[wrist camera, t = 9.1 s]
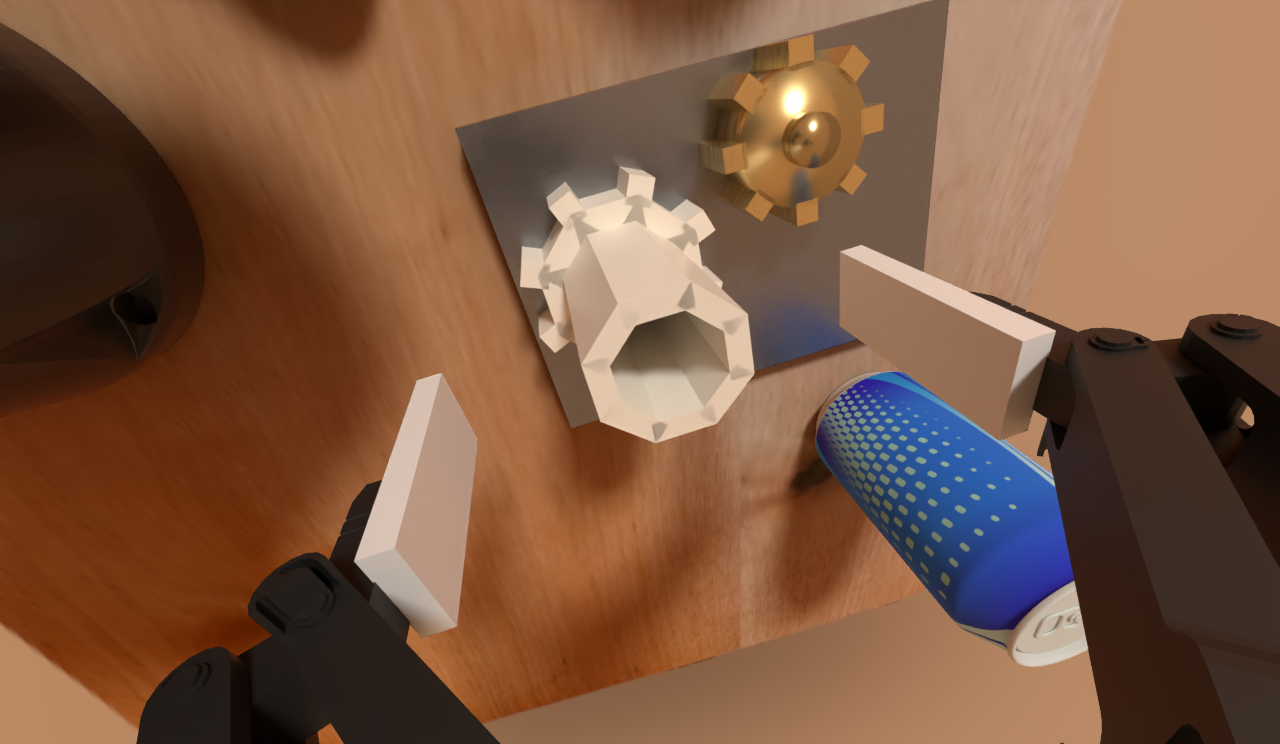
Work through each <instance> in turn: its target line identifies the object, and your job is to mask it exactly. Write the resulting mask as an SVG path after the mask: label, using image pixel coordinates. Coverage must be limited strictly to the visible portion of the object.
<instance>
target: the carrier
mask: <svg viewBox="0 0 1280 744" xmlns="http://www.w3.org/2000/svg"><path fill="white" fill-rule="evenodd" d="M948 6H949V0H931V1H927V2H923V3H920V4H916V5H912V6H908V7H905V8H901V9H897V10H893V11H890V12H886V13H882V14H879V15H875V16H871V17H867V18H864V19H860V20H856V21H852V22H849V23H845V24H841V25H838V26H834V27H830V28H826V29H823V30H819V31H815V32H811V33H808V34H804V35H800V36H797V37H793V38H789V39H785V40H782V41H778V42H774V43H770V44H767V45H763V46H759V47H756V48H752V49H748V50H744V51H741V52H737V53H733V54H729V55H726V56H722V57H718V58H715V59H711V60H707V61H703V62H700V63H696V64H692V65H688V66H685V67H681V68H677V69H674V70H670V71H666V72H662V73H659V74H655V75H651V76H647V77H644V78H640V79H636V80H633V81H629V82H625V83H621V84H618V85H614V86H610V87H606V88H603V89H599V90H595V91H592V92H588V93H584V94H580V95H577V96H573V97H569V98H565V99H562V100H558V101H554V102H551V103H547V104H543V105H539V106H536V107H532V108H528V109H524V110H521V111H517V112H513V113H510V114H506V115H502V116H498V117H495V118H491V119H487V120H483V121H480V122H476V123H472V124H469V125H465V126H461V127H458V128H456V132H457V135H458V137H459V140H460V142H461V145H462V148H463V150H464V153H465V155H466V158H467V160H468V163H469V166H470V168H471V171H472V173H473V176H474V179H475V181H476V184H477V186H478V189H479V191H480V194H481V197H482V199H483V202H484V204H485V207H486V210H487V212H488V215H489V217H490V220H491V222H492V225H493V228H494V230H495V233H496V235H497V238H498V241H499V243H500V246H501V248H502V251H503V253H504V256H505V259H506V261H507V264H508V266H509V269H510V272H511V274H512V277H513V279H514V282H515V285H516V287H517V290H518V292H519V295H520V297H521V300H522V303H523V305H524V308H525V310H526V313H527V316H528V318H529V321H530V323H531V326H532V328H533V331H534V334H535V336H536V339H537V341H538V344H539V347H540V349H541V352H542V354H543V357H544V359H545V362H546V365H547V367H548V370H549V372H550V375H551V378H552V380H553V383H554V385H555V388H556V390H557V393H558V396H559V398H560V401H561V403H562V406H563V409H564V411H565V414H566V416H567V419H568V421H569V424H570V427H571V428H574V427H578V426H581V425H584V424H587V423H590V422H594V421H597V420H600V419H599V416H598V413H597V410H596V407H595V404H594V401H593V398H592V395H591V393H590V390H589V387H588V384H587V381H586V378H585V375H584V372H583V369H582V366H581V363H580V358H579V354H578V349H577V344H576V343H573V342H571V341H570V342H569V343H567V344H566V345H565V346H564V347H562V348H561V349H560V350H558V351H557V352H556V353H555V352H554V351H553V350H552V349H551V348H550V347H549V346H548V345H547V344H546V343H545V342H544V341H543V340H542V339H541V338H540V337H539V322H538V316H539V315H540V314H541V313H543V312H544V311H545V310H546V309H548V308H549V306H548V303H547V301H546V298H545V295H544V292H543V289H538V288H527V287H520V277H521V253H522V247H531V248H540V249H542V248H543V246H544V244H545V242H546V240H547V239H548V237H549V235H550V233H551V231H552V229H553V227H554V225H555V223H556V221H557V218H556V217H555V215H554V214H553V213H552V212H551V210H550V209H549V207H548V203H547V198H546V197H547V196H549V195H550V194H551V193H552V192H554V191H555V190H556V189H557V188H558V187H560V186H561V185H562V184H563V183H564V182H566V183H567V184H568V186H569V187H570V188H571V190H572V191H573V192H574V194H575V195H576V196H577V198H578V199H581V198H584V197H588V196H592V195H595V194H599V193H602V192H606V191H609V190H613V189H616V187H617V179H618V172H619V167H625V168H631V169H638V170H643V171H645V172H646V173H648V174H650V175H651V176H653V177H655V184H654V190H653V196H652V200H653V201H655V202H656V203H658V204H659V205H661V206H663V207H664V208H666V209H667V210H669V211H670V212H671V211H672V210H674V209H675V208H676V207H677V206H679V205H680V204H681V203H683V202H684V201H685V200H686V199H687V200H688V201H690V202H692V203H693V204H695V205H697V206H698V207H700V208H701V209H703V210H704V212H705V213H706V215H707V217H708V218H709V220H710V222H711V223H712V225H713V227H714V228H715V231H714V232H712V233H711V234H710V235H708V236H707V237H706V238H704V239H703V240H702V241H701V242H699V243H698V244H699V250H700V256H701V262H702V266H706V267H707V268H708V269H709V270H710V271H711V272H713V273H714V274H715V275H716V276H717V277H718V278H719V279H720V280H721V281H722V282H723V284H722V288H721V289H722V290H723V291H724V292H725V293H726V294H727V295H728V296H730V297H731V298H732V299H733V300H734V301H735V302H736V303H737V304H738V305H739V306H740V307H741V308H742V309H743V310H744V311H745V312H746V313H747V314H748V321H749V330H750V338H751V347H752V356H753V364H754V371H757V370H760V369H763V368H767V367H770V366H773V365H776V364H779V363H783V362H786V361H789V360H792V359H795V358H799V357H802V356H805V355H808V354H811V353H815V352H818V351H821V350H824V349H827V348H831V347H834V346H837V345H840V344H843V343H847V342H850V341H853V340H856V339H857V338H856V337H854V336H853V335H852V334H850V333H849V332H847V331H846V330H845V329H843V328H842V327H841V326H839V322H840V251H844V250H847V249H850V248H853V247H857V246H860V245H863V246H865V247H867V248H870V249H872V250H874V251H876V252H879V253H881V254H883V255H886V256H888V257H890V258H892V259H895V260H897V261H899V262H901V263H904V264H906V265H908V266H910V267H913V268H915V269H917V270H920V271H922V272H923V270H924V259H925V248H926V238H927V227H928V217H929V206H930V196H931V185H932V175H933V164H934V154H935V143H936V133H937V122H938V111H939V101H940V90H941V80H942V69H943V59H944V48H945V38H946V27H947V17H948Z"/></svg>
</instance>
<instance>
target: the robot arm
mask: <svg viewBox="0 0 1280 744" xmlns="http://www.w3.org/2000/svg"><path fill="white" fill-rule="evenodd" d="M203 282H204V260H203V252H202V245H201V241H200V237H199V233H198V230H197V226H196V223H195V220H194V218H193V215H192V213H191V210H190V208H189V205H188V203H187V201H186V199H185V197H184V195H183V193H182V191H181V189H180V188H179V186H178V184H177V182H176V181H175V179H174V177H173V175H172V174H171V172H170V171H169V169H168V168H167V166H166V165H165V163H164V162H163V160H162V159H161V158H160V156H159V155H158V154H157V152H156V151H155V150H154V148H153V147H152V146H151V145H150V143H149V142H148V141H147V140H146V139H145V137H144V136H143V135H142V134H141V133H140V131H139V130H138V129H137V128H136V127H135V126H134V125H133V124H132V123H131V122H130V120H129V119H128V118H127V117H126V116H125V115H124V114H123V113H122V112H121V111H120V110H119V109H118V108H117V107H116V106H115V105H114V104H113V103H112V102H111V101H109V100H108V99H107V98H106V97H105V96H104V95H103V94H102V93H101V92H99V91H98V90H97V89H96V88H95V87H94V86H93V85H91V84H90V83H89V82H88V81H86V80H85V79H84V78H83V77H81V76H80V75H79V74H78V73H77V72H75V71H74V70H73V69H71V68H70V67H69V66H67V65H66V64H64V63H63V62H62V61H60V60H59V59H58V58H56V57H55V56H53V55H52V54H50V53H49V52H47V51H46V50H44V49H43V48H41V47H40V46H38V45H37V44H35V43H34V42H32V41H31V40H29V39H27V38H26V37H24V36H22V35H21V34H19V33H17V32H16V31H14V30H12V29H10V28H9V27H7V26H5V25H3V24H1V23H0V417H2V416H6V415H10V414H13V413H17V412H21V411H25V410H29V409H33V408H37V407H40V406H44V405H48V404H52V403H56V402H60V401H63V400H67V399H71V398H75V397H79V396H82V395H85V394H88V393H91V392H94V391H97V390H99V389H102V388H104V387H106V386H109V385H111V384H113V383H115V382H117V381H119V380H121V379H123V378H125V377H127V376H128V375H130V374H131V373H133V372H135V371H136V370H138V369H139V368H140V367H142V366H143V365H145V364H146V363H148V362H149V361H151V360H152V359H154V358H155V357H156V356H158V355H159V354H161V353H162V352H163V351H165V350H166V349H167V348H169V347H170V346H171V345H172V344H173V343H174V342H175V341H176V340H177V339H178V338H179V337H180V336H181V335H182V334H183V332H184V331H185V330H186V328H187V327H188V325H189V324H190V322H191V320H192V319H193V317H194V315H195V313H196V310H197V308H198V305H199V302H200V298H201V294H202V289H203ZM839 326H841V327H842V328H843V329H845V330H846V331H847V332H849V333H850V334H852V335H853V336H854V337H856V338H857V339H859V340H860V341H861V342H863V343H864V344H865V345H867V346H868V347H870V348H871V349H872V350H874V351H875V352H877V353H878V354H879V355H881V356H882V357H883V358H885V359H886V360H888V361H889V362H890V363H892V364H893V365H895V366H896V367H897V368H899V369H900V370H901V371H903V372H904V373H906V374H907V375H908V376H910V377H911V378H913V379H914V380H915V381H917V382H918V383H919V384H921V385H922V386H924V387H925V388H926V389H928V390H929V391H931V392H932V393H933V394H935V395H936V396H937V397H939V398H940V399H942V400H943V401H944V402H946V403H947V404H949V405H950V406H951V407H953V408H954V409H955V410H957V411H958V412H960V413H961V414H962V415H964V416H965V417H967V418H968V419H969V420H971V421H972V422H973V423H975V424H976V425H978V426H979V427H980V428H982V429H983V430H985V431H986V432H987V433H989V434H990V435H991V436H993V437H994V438H996V439H997V440H998V441H999V440H1002V439H1005V438H1008V437H1011V436H1013V435H1016V434H1019V433H1022V432H1025V431H1027V430H1028V427H1029V424H1030V420H1031V417H1032V413H1033V410H1035V411H1036V412H1038V413H1040V414H1041V415H1043V416H1044V417H1046V418H1048V419H1047V423H1046V425H1045V428H1044V432H1043V435H1042V438H1041V441H1040V445H1039V448H1038V452H1037V456H1043V454H1044V451H1045V450H1046V449H1048V453H1049V458H1050V463H1051V468H1052V473H1053V478H1054V483H1055V488H1056V493H1057V498H1058V503H1059V508H1060V512H1061V517H1062V522H1063V527H1064V532H1065V537H1066V542H1067V547H1068V552H1069V557H1070V562H1071V567H1072V572H1073V577H1074V582H1075V587H1076V592H1077V597H1078V602H1079V607H1080V612H1081V616H1082V621H1083V626H1084V631H1085V636H1086V641H1087V646H1088V651H1089V656H1090V661H1091V666H1092V671H1093V676H1094V681H1095V685H1096V691H1097V696H1098V701H1099V705H1100V711H1101V718H1102V734H1101V742H1100V744H1280V327H1278V326H1276V325H1274V324H1272V323H1269V322H1267V321H1264V320H1260V319H1255V318H1253V317H1251V316H1246V315H1240V316H1239V315H1238V314H1210V315H1204V316H1198V317H1196V318H1194V319H1192V320H1190V322H1189V324H1188V326H1187V328H1186V331H1185V333H1184V335H1183V337H1182V338H1179V339H1171V340H1160V341H1151V340H1150V339H1148V338H1146V337H1144V336H1142V335H1140V334H1138V333H1134V332H1130V331H1126V330H1122V329H1113V328H1091V329H1087V330H1083V331H1079V332H1076V331H1074V330H1072V329H1069V328H1067V327H1065V326H1062V325H1060V324H1057V323H1055V322H1053V321H1051V320H1048V319H1046V318H1044V317H1041V316H1039V315H1036V314H1034V313H1032V312H1026V310H1025V309H1022V308H1020V307H1018V306H1015V305H1014V306H1012V305H1011V303H1008V302H1006V301H1004V300H1001V299H999V298H997V297H994V296H991V295H986V294H981V293H976V292H967V291H965V290H963V289H960V288H958V287H956V286H954V285H951V284H949V283H947V282H944V281H942V280H940V279H938V278H935V277H933V276H931V275H929V274H926V273H924V272H922V271H920V270H917V269H915V268H913V267H910V266H908V265H906V264H904V263H901V262H899V261H897V260H895V259H892V258H890V257H888V256H886V255H883V254H881V253H879V252H876V251H874V250H872V249H870V248H867V247H865V246H863V245H860V246H857V247H853V248H850V249H847V250H844V251H840V322H839ZM1247 406H1249V407H1250V408H1251V410H1252V412H1253V415H1254V425H1253V426H1252V427H1251V426H1250V425H1248V424H1247V423H1246V422H1245V421H1244V420H1242V419H1241V418H1240V417H1241V416H1242V414H1243V412H1244V411H1245V409H1246V407H1247ZM477 444H478V439H477V437H476V436H475V434H474V432H473V430H472V428H471V426H470V424H469V422H468V421H467V419H466V417H465V415H464V413H463V411H462V409H461V408H460V406H459V404H458V402H457V400H456V398H455V396H454V395H453V393H452V391H451V389H450V387H449V385H448V383H447V381H446V380H445V378H444V376H443V374H442V373H440V374H436V375H433V376H430V377H426V378H423V379H420V380H417V382H416V385H415V388H414V391H413V393H412V396H411V399H410V402H409V405H408V408H407V411H406V414H405V416H404V419H403V422H402V425H401V428H400V431H399V434H398V437H397V439H396V442H395V445H394V448H393V451H392V454H391V457H390V459H389V462H388V465H387V468H386V471H385V474H384V477H383V480H380V481H377V482H374V483H370V484H367V485H366V486H365V487H364V489H363V490H362V491H361V492H360V494H359V495H358V496H357V497H356V498H355V500H354V501H353V502H352V505H351V507H350V510H349V512H348V515H347V517H346V522H345V523H344V525H343V527H342V530H341V532H340V534H341V536H340V537H338V540H337V542H336V545H335V547H334V549H333V552H332V554H331V557H330V559H329V560H328V559H327V558H326V557H325V556H324V555H322V554H320V553H317V552H316V553H306V554H303V555H301V556H298V557H296V558H293V559H291V560H289V561H288V562H286V563H285V564H283V565H281V566H280V567H278V568H277V569H276V570H274V571H273V572H272V573H271V574H270V575H269V576H268V577H267V578H266V579H264V580H263V581H262V583H261V584H260V585H259V587H258V588H257V589H256V591H255V592H254V593H253V595H252V597H251V600H250V602H249V605H248V612H249V616H250V617H251V618H252V619H253V620H255V621H256V622H257V623H258V624H259V625H261V626H262V627H263V628H264V629H265V630H267V631H268V632H269V633H270V634H271V635H273V636H271V637H269V638H268V639H266V640H264V641H263V642H261V643H259V644H258V645H256V646H254V647H253V648H251V649H249V650H247V651H246V652H244V653H242V654H241V655H239V656H236V655H234V654H233V653H232V652H230V651H229V650H228V649H225V648H221V647H215V648H211V649H206V650H204V651H202V652H200V653H198V654H196V655H194V656H192V657H190V658H189V659H188V660H186V661H185V662H184V663H182V664H181V665H180V666H178V667H177V668H176V669H174V670H173V671H172V672H171V673H170V674H169V675H168V676H167V677H166V678H165V679H164V680H163V681H162V682H161V683H160V684H159V685H158V687H157V688H156V689H155V691H154V692H153V694H152V695H151V697H150V698H149V699H148V701H147V702H146V705H145V708H144V710H143V713H142V715H141V720H140V726H139V732H138V738H137V744H319V739H318V731H319V730H321V729H322V728H324V727H325V726H327V725H328V724H330V723H331V724H332V725H333V727H334V729H335V730H336V732H337V733H338V735H339V736H340V738H341V740H342V741H343V743H344V744H500V743H499V742H498V741H497V740H496V739H495V738H494V737H493V736H492V734H491V733H490V732H489V731H488V730H487V729H486V728H485V727H484V726H483V725H482V724H481V723H480V721H479V720H478V719H477V718H476V717H475V716H474V715H473V714H472V713H471V712H470V711H469V710H468V709H467V708H466V707H465V705H464V704H463V703H462V702H461V701H460V700H459V699H458V698H457V697H456V696H455V695H454V694H453V693H452V692H451V690H450V689H449V688H448V687H447V686H446V685H445V684H444V683H443V682H442V681H441V680H440V679H439V678H438V677H437V676H436V674H435V673H434V672H433V671H432V670H431V669H430V668H429V667H428V666H427V665H426V664H425V663H424V662H423V661H422V659H421V658H420V657H419V656H418V655H417V654H416V653H415V652H414V651H413V650H412V649H411V648H410V647H409V646H408V645H407V643H406V640H407V635H408V630H409V625H411V626H412V627H413V629H414V630H415V631H416V632H417V633H418V634H419V635H420V636H421V638H425V637H428V636H431V635H434V634H437V633H440V632H442V631H445V630H448V629H451V628H454V627H457V621H458V612H459V603H460V594H461V585H462V576H463V568H464V559H465V550H466V541H467V532H468V523H469V515H470V506H471V497H472V488H473V479H474V470H475V462H476V453H477ZM1061 744H1064V743H1061Z"/></svg>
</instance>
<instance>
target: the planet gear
mask: <svg viewBox="0 0 1280 744" xmlns="http://www.w3.org/2000/svg"><path fill="white" fill-rule="evenodd" d="M654 184H655V177H653V176H651V175H650V174H648V173H646V172H645V171H643V170H638V169H631V168H625V167H619V172H618V179H617V187H616V189H613V190H609V191H606V192H602V193H599V194H595V195H592V196H588V197H584V198H581V199H578V198H577V196H576V195H575V194H574V192H573V191H572V190H571V188H570V187H569V186H568V184H567V183H566V182H564V183H563V184H562V185H561V186H560V187H558V188H557V189H556V190H555V191H554V192H552V193H551V194H550V195H549V196H547V197H546V198H547V203H548V207H549V209H550V210H551V212H552V213H553V214H554V215H555V217H556V218H557V221H556V223H555V225H554V227H553V229H552V231H551V233H550V235H549V237H548V239H547V240H546V242H545V244H544V246H543V248H542V249H540V248H531V247H522V253H521V277H520V287H527V288H538V289H543V292H544V295H545V298H546V301H547V303H548V306H549V308H548V309H546V310H545V311H544V312H543V313H541V314H540V315H539V316H538V322H539V337H540V338H541V339H542V340H543V341H544V342H545V343H546V344H547V345H548V346H549V347H550V348H551V349H552V350H553V351H554V352H555V353H556V352H557V351H558V350H560V349H561V348H562V347H564V346H565V345H566V344H567V343H569V342H570V341H571V342H573V343H576V344H577V349H578V354H579V358H580V363H581V366H582V369H583V372H584V375H585V378H586V381H587V384H588V387H589V390H590V393H591V395H592V398H593V401H594V404H595V407H596V410H597V413H598V416H599V419H600V422H602V423H605V424H608V425H610V426H613V427H615V428H618V429H621V430H623V431H626V432H628V433H631V434H633V435H636V436H639V437H641V438H644V439H646V440H649V441H652V442H654V443H657V442H661V441H664V440H667V439H670V438H673V437H676V436H679V435H683V434H686V433H689V432H692V431H695V430H698V429H701V428H705V427H708V426H711V425H714V424H717V423H718V421H719V420H720V419H721V417H722V416H723V415H724V413H725V412H726V411H727V409H728V408H729V407H730V406H731V404H732V403H733V402H734V400H735V399H736V398H737V396H738V395H739V394H740V392H741V391H742V390H743V388H744V387H745V386H746V384H747V383H748V382H749V380H750V379H751V378H752V376H753V375H754V374H755V373H754V364H753V356H752V347H751V338H750V330H749V321H748V314H747V313H746V312H745V311H744V310H743V309H742V308H741V307H740V306H739V305H738V304H737V303H736V302H735V301H734V300H733V299H732V298H731V297H730V296H728V295H727V294H726V293H725V292H724V291H723V290H722V289H721V288H722V284H723V282H722V281H721V280H720V279H719V278H718V277H717V276H716V275H715V274H714V273H713V272H711V271H710V270H709V269H708V268H707V267H706V266H702V262H701V256H700V250H699V244H698V243H699V242H701V241H702V240H703V239H704V238H706V237H707V236H708V235H710V234H711V233H712V232H714V231H715V228H714V227H713V225H712V223H711V222H710V220H709V218H708V217H707V215H706V213H705V212H704V210H703V209H701V208H700V207H698V206H697V205H695V204H693V203H692V202H690V201H688V200H687V199H686V200H685V201H684V202H683V203H681V204H680V205H679V206H677V207H676V208H675V209H674V210H672V211H671V212H670V211H669V210H667V209H666V208H664V207H663V206H661V205H659V204H658V203H656V202H655V201H653V200H652V196H653V190H654Z"/></svg>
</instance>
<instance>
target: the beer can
mask: <svg viewBox="0 0 1280 744" xmlns="http://www.w3.org/2000/svg"><path fill="white" fill-rule="evenodd" d="M815 444H816V450H817V453H818V455H819V457H820V459H821V460H822V461H823V463H824V464H825V465H826V466H827V468H828V469H829V470H830V471H831V472H832V474H833V475H834V476H835V477H836V478H837V480H838V481H839V482H840V483H841V485H842V486H843V487H844V488H845V489H846V491H847V492H848V493H849V494H850V496H851V497H852V498H853V499H854V500H855V502H856V503H857V504H858V505H859V506H860V508H861V509H862V510H863V511H864V513H865V514H866V515H867V516H868V517H869V519H870V520H871V521H872V522H873V524H874V525H875V526H876V527H877V528H878V530H879V531H880V532H881V533H882V534H883V536H884V537H885V538H886V539H887V541H888V542H889V543H890V544H891V545H892V547H893V548H894V549H895V550H896V552H897V553H898V554H899V555H900V556H901V558H902V559H903V560H904V561H905V563H906V564H907V565H908V566H909V567H910V569H911V570H912V571H913V572H914V573H915V575H916V576H917V577H918V578H919V580H920V581H921V582H922V583H923V584H924V586H925V587H926V588H927V589H928V590H929V592H930V593H931V594H932V595H933V597H934V598H935V599H936V600H937V601H938V603H939V604H940V605H941V606H942V608H943V609H944V610H945V611H946V612H947V614H948V615H949V616H950V617H951V618H952V620H953V621H954V622H955V623H956V624H957V625H958V626H959V627H961V628H962V629H964V630H965V631H967V632H969V633H971V634H973V635H975V636H977V637H979V638H981V639H983V640H985V641H987V642H990V643H992V644H994V645H996V646H998V647H1000V648H1002V649H1004V650H1006V651H1007V652H1008V654H1009V656H1010V657H1011V659H1012V660H1013V661H1014V662H1016V663H1017V664H1019V665H1022V666H1026V667H1039V666H1045V665H1050V664H1054V663H1057V662H1060V661H1063V660H1066V659H1068V658H1071V657H1073V656H1076V655H1078V654H1080V653H1082V652H1084V651H1086V650H1088V646H1087V641H1086V636H1085V631H1084V626H1083V621H1082V616H1081V612H1080V607H1079V602H1078V597H1077V592H1076V587H1075V582H1074V577H1073V572H1072V567H1071V562H1070V557H1069V552H1068V547H1067V542H1066V537H1065V532H1064V527H1063V522H1062V517H1061V512H1060V508H1059V503H1058V498H1057V493H1056V488H1055V483H1054V478H1053V474H1052V473H1050V472H1049V471H1047V470H1046V469H1045V468H1043V467H1042V466H1040V465H1039V464H1038V463H1036V462H1035V461H1033V460H1032V459H1031V458H1029V457H1028V456H1026V455H1025V454H1024V453H1022V452H1021V451H1019V450H1018V449H1016V448H1015V447H1013V446H1012V445H1011V444H1009V443H1008V442H1006V441H1005V440H1004V439H1002V440H999V441H998V440H997V439H996V438H994V437H993V436H991V435H990V434H989V433H987V432H986V431H985V430H983V429H982V428H980V427H979V426H978V425H976V424H975V423H973V422H972V421H971V420H969V419H968V418H967V417H965V416H964V415H962V414H961V413H960V412H958V411H957V410H955V409H954V408H953V407H951V406H950V405H949V404H947V403H946V402H944V401H943V400H942V399H940V398H939V397H937V396H936V395H935V394H933V393H932V392H931V391H929V390H928V389H926V388H925V387H924V386H922V385H921V384H919V383H918V382H917V381H915V380H914V379H913V378H911V377H910V376H908V375H907V374H906V373H904V372H899V371H887V372H871V373H866V374H862V375H859V376H857V377H854V378H852V379H850V380H849V381H847V382H845V383H844V384H842V385H841V386H840V387H838V388H837V389H836V390H835V391H834V392H833V393H832V394H831V395H830V396H829V397H828V399H827V400H826V401H825V403H824V404H823V406H822V408H821V410H820V412H819V415H818V418H817V423H816V438H815Z"/></svg>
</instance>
